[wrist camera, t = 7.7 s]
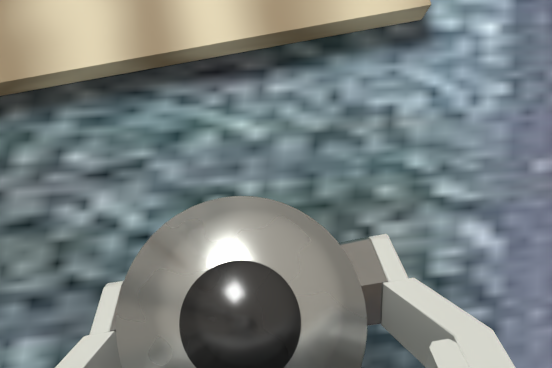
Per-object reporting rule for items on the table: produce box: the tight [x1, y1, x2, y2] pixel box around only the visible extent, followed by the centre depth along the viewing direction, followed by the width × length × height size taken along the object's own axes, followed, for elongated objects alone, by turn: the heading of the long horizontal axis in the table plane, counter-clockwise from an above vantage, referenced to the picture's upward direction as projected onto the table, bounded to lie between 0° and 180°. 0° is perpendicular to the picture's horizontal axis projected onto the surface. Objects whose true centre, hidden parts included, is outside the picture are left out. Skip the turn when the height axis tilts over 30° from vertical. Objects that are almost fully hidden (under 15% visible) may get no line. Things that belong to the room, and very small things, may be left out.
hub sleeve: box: [116, 196, 367, 368], centre depth 12 cm, size 5×5×9 cm
